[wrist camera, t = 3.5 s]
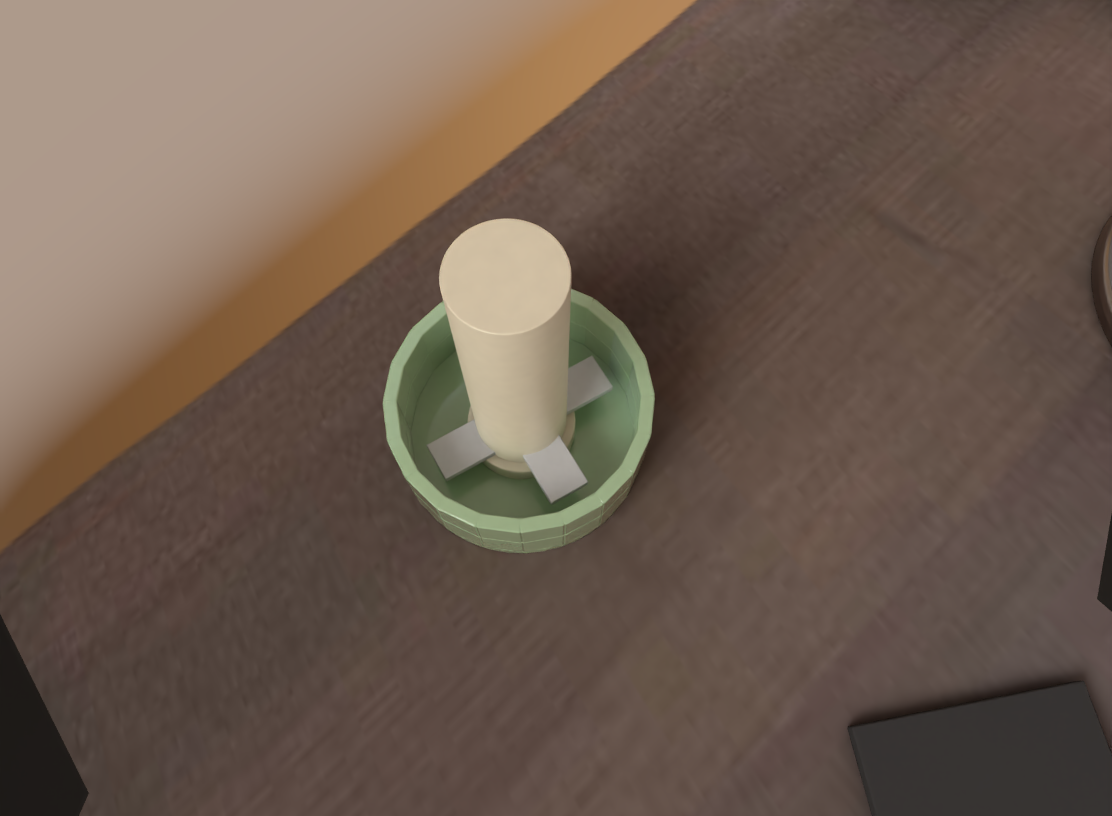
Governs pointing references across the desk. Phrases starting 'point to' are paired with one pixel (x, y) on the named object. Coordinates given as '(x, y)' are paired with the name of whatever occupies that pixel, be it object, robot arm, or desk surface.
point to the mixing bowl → (505, 503)
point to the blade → (515, 356)
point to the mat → (990, 758)
